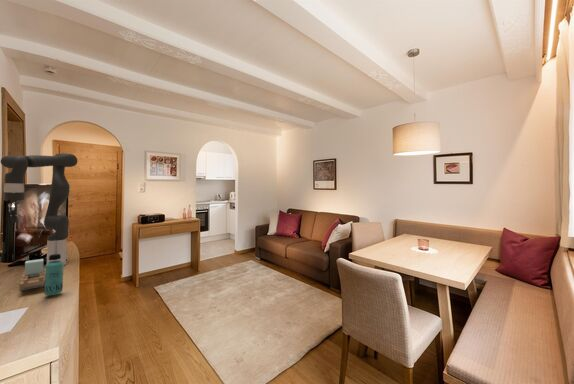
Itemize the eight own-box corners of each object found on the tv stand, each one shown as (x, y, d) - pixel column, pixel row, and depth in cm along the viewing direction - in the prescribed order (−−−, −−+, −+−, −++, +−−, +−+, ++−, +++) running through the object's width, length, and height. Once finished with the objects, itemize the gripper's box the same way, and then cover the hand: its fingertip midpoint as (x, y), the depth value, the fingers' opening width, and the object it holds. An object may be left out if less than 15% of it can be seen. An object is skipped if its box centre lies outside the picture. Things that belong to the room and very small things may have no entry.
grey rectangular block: (25, 275, 124) (25, 261, 124) (43, 272, 129) (43, 258, 129) (24, 278, 121) (25, 263, 121) (42, 275, 125) (43, 260, 125)
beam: (21, 282, 131) (21, 268, 131) (47, 278, 138) (47, 264, 138) (17, 297, 114) (18, 281, 114) (47, 291, 121) (47, 276, 121)
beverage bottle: (41, 296, 115) (42, 255, 115) (59, 291, 121) (60, 252, 121) (47, 300, 112) (48, 257, 112) (65, 294, 118) (66, 254, 118)
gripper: (5, 191, 136) (4, 221, 136) (2, 191, 126) (1, 224, 127) (24, 191, 141) (24, 220, 141) (23, 192, 132) (23, 223, 132)
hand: (13, 222), depth 134 cm, fingers closed
